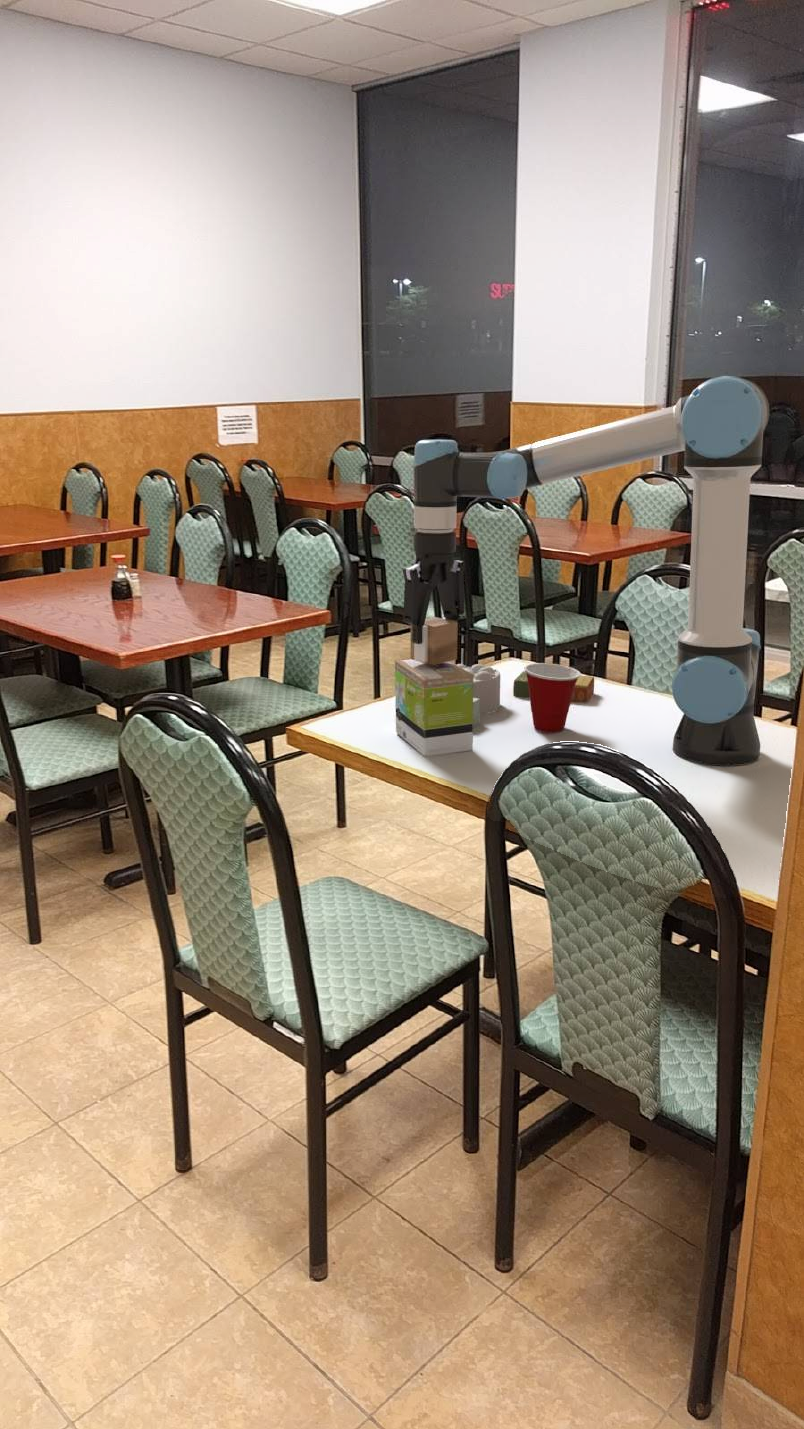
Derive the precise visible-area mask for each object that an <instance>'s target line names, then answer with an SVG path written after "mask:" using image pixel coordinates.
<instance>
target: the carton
mask: <svg viewBox="0 0 804 1429" xmlns="http://www.w3.org/2000/svg"><path fill="white" fill-rule="evenodd" d="M512 688H513V691H512V692H513V693H512V694H513V695H512V696H513V697H514V696H515V698H524V699H525V698H526V699H530V696H529V687H528V682H527V675H526V672H525V670H523V671H522V672H521V673H519V675H518V676H517V677H516V678H515V679H514V680H513V687H512ZM594 693H595V677H594V676H588V675H580V677H579V678H578V679H577V682H576V684H575V687H574V690H573V694H572V698H571V702H572V703H580V704H581V703H583V704H584V703H585V704H587V703H588V702H589V701H590V699H591V698H592V696H593V695H594Z"/></svg>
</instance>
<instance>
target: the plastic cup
mask: <svg viewBox="0 0 804 1429" xmlns="http://www.w3.org/2000/svg"><path fill="white" fill-rule="evenodd" d="M523 669H524V670H523V671H525V672H526V675H527V682H528V687H529V696H530V698H529V704H530V711H531V715H532V716H531V717H532V722H533V723H532V724H533V728H534V729H535V730H536V731H538V732H541V733H547V734H548V733H550V734H551V733H553V734H554V733H559V732H562V731H564V729H565V726H566V722H567V717H568V713H569V711H570V706H571V698H572V694H573V690H574V687H575V684H576V682H577V679H578V678H579V677H580V676H582V673H581V672H580V671H579V670H578V669H575V668H574V667H570V666H566V665H561V664H558V663H544V662H539V663H530V664H526V665H525V666H524V667H523Z"/></svg>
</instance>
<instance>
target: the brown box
mask: <svg viewBox="0 0 804 1429" xmlns="http://www.w3.org/2000/svg"><path fill="white" fill-rule="evenodd" d="M424 625H425V626H428V662H424V663H428V664H432V665H436V664H440V663H444V662H448V661H451V662H452V661H456V660H458V627H459V626H458V621H457V620H456V621H451V620H447V619H446V618H443V617H437V616H430V617H426V619H425V624H424ZM410 659H412V660H414V643H413V641H412V625H411V624H410ZM416 661H417V660H416ZM420 662H421V661H420Z"/></svg>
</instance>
